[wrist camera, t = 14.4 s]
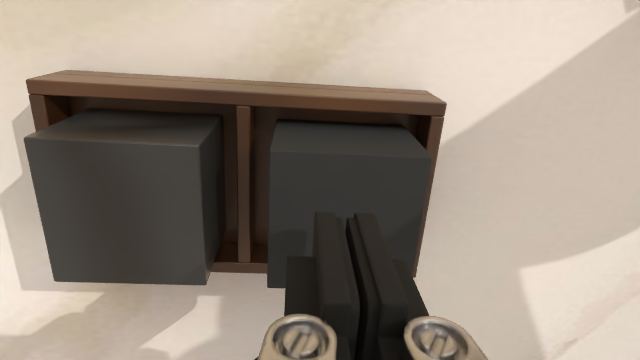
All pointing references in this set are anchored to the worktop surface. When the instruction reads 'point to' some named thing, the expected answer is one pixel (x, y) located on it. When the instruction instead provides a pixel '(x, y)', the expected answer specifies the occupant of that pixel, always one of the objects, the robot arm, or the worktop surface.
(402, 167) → the block
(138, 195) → the partitioned wooden crate
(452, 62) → the worktop surface
